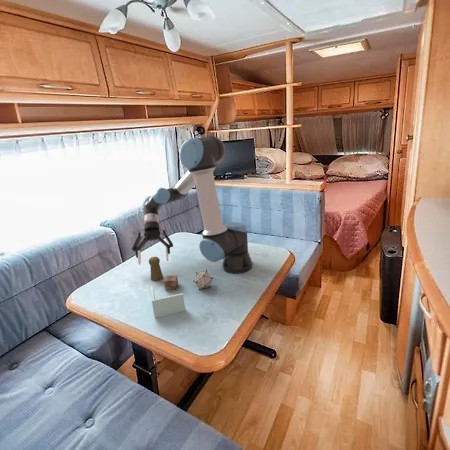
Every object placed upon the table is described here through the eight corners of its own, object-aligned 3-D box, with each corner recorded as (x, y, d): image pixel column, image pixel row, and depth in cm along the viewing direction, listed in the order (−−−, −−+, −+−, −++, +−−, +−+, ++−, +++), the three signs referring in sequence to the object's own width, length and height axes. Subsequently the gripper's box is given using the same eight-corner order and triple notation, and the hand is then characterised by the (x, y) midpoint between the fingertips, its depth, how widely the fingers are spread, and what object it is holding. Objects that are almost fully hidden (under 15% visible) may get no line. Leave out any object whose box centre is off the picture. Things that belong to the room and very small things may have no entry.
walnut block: (178, 284, 133) (177, 275, 132) (176, 290, 129) (175, 280, 127) (167, 285, 134) (166, 275, 132) (165, 290, 129) (163, 281, 127)
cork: (157, 282, 137) (153, 261, 133) (148, 279, 140) (144, 259, 136) (165, 276, 142) (162, 256, 138) (157, 274, 145) (153, 254, 141)
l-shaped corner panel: (185, 310, 113) (183, 294, 111) (154, 317, 110) (151, 301, 108) (181, 295, 124) (179, 280, 122) (153, 301, 121) (150, 285, 119)
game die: (207, 296, 129) (209, 287, 121) (190, 289, 129) (190, 280, 121) (214, 279, 134) (216, 269, 126) (197, 273, 135) (198, 263, 127)
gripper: (176, 224, 155) (179, 261, 145) (129, 229, 152) (129, 267, 143) (174, 217, 148) (178, 255, 139) (125, 223, 145) (125, 262, 136)
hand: (153, 261), depth 141 cm, fingers open, 13 cm apart
